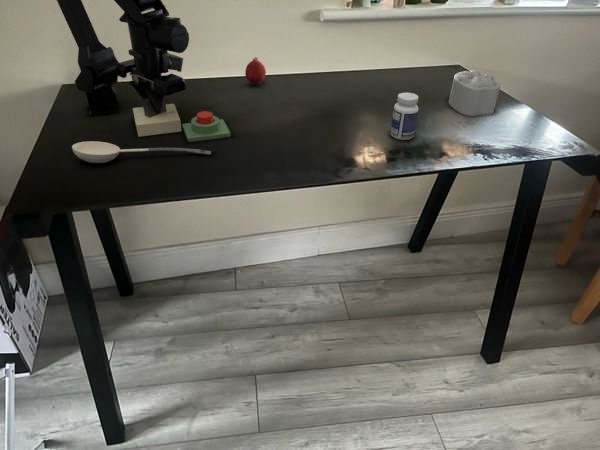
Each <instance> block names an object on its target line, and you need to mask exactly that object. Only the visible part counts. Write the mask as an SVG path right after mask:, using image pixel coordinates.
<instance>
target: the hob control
mask: <svg viewBox="0 0 600 450" xmlns="http://www.w3.org/2000/svg"><path fill="white" fill-rule="evenodd" d="M166 110H167V112H164V113H161V114H158V115H156V116H153V117H150V118H149V117H147V116H145V113H144V107H143V106H139V107H132V112H133V118H134V123H135V128H136V132H137V137H138V138H140V137H147V136H155V135H162V134H171V133H179V132H182V130H183V129H182V123H181V122H182V121H181V118H180V116H179V113H178V110H177V107H176V105H175V103H166Z"/></svg>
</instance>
